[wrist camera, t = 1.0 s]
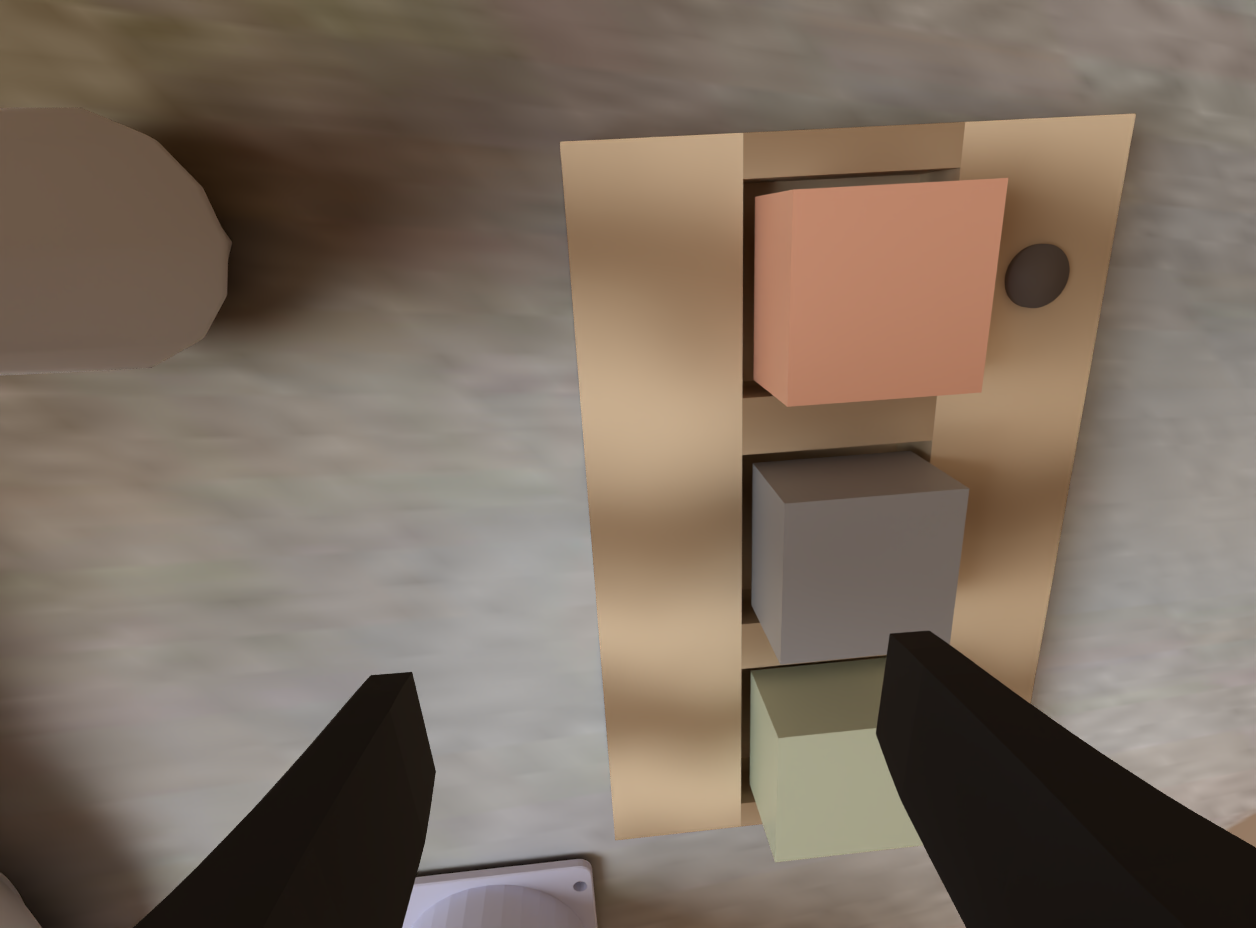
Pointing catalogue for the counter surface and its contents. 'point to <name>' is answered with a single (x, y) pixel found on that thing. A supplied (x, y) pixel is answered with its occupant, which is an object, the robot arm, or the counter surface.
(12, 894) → the light grey curved piece
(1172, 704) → the counter surface
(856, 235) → the key terracotta
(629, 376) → the tan wooden slotted tray
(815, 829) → the key sage
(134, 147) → the salt shaker
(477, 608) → the counter surface
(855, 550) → the key slate
